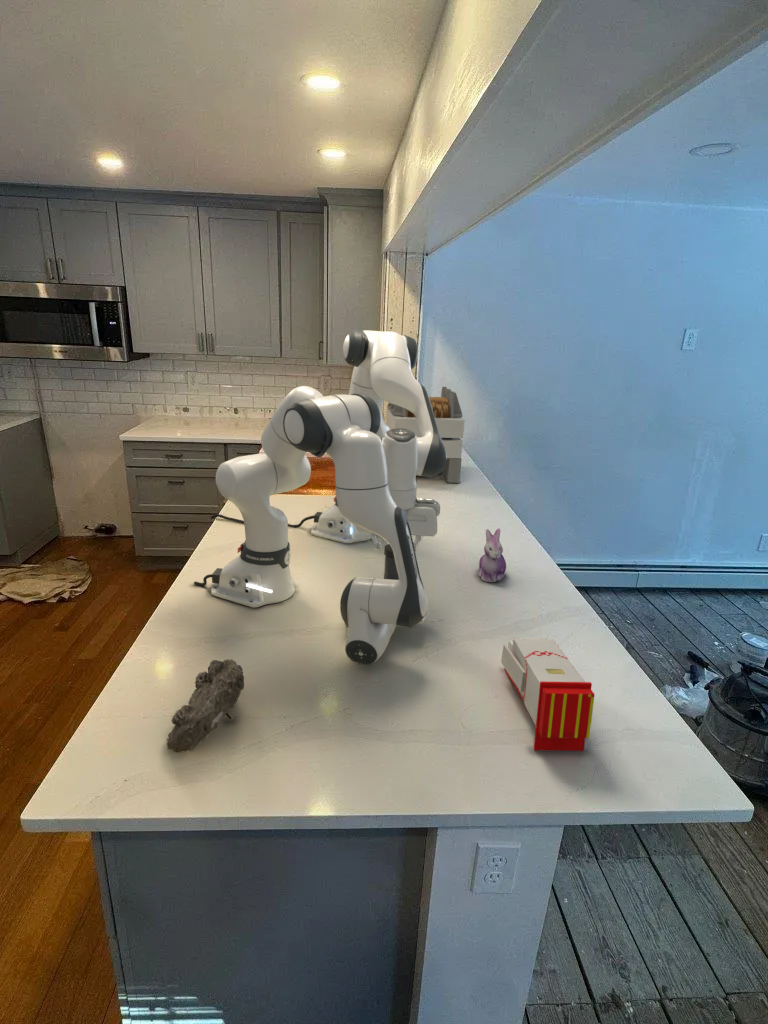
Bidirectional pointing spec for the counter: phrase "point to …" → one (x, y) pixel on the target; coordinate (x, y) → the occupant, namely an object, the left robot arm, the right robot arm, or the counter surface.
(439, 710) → the counter surface
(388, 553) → the lid
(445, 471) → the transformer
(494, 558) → the figurine
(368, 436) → the left robot arm
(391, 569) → the dark grey long cylinder
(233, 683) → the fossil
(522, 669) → the toy
